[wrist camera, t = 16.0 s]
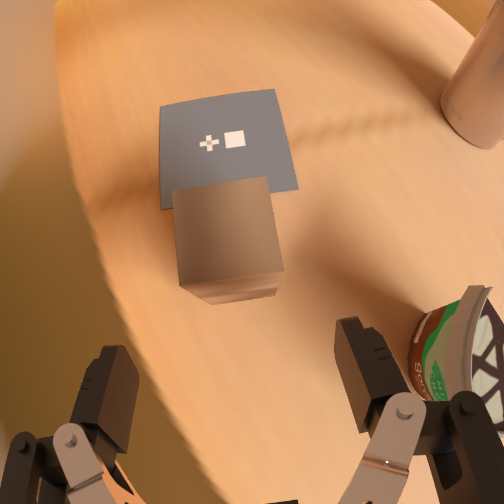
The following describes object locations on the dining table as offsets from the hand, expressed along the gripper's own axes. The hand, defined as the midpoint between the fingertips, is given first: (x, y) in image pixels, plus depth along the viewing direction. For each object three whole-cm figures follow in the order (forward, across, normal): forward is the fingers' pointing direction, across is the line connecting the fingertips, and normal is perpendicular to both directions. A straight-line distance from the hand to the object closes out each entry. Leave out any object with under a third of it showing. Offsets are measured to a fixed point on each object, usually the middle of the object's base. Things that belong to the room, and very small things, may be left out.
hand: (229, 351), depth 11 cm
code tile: (+22, 0, -4) cm, 22 cm away
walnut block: (+13, 0, +5) cm, 14 cm away
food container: (+5, -15, +14) cm, 21 cm away
